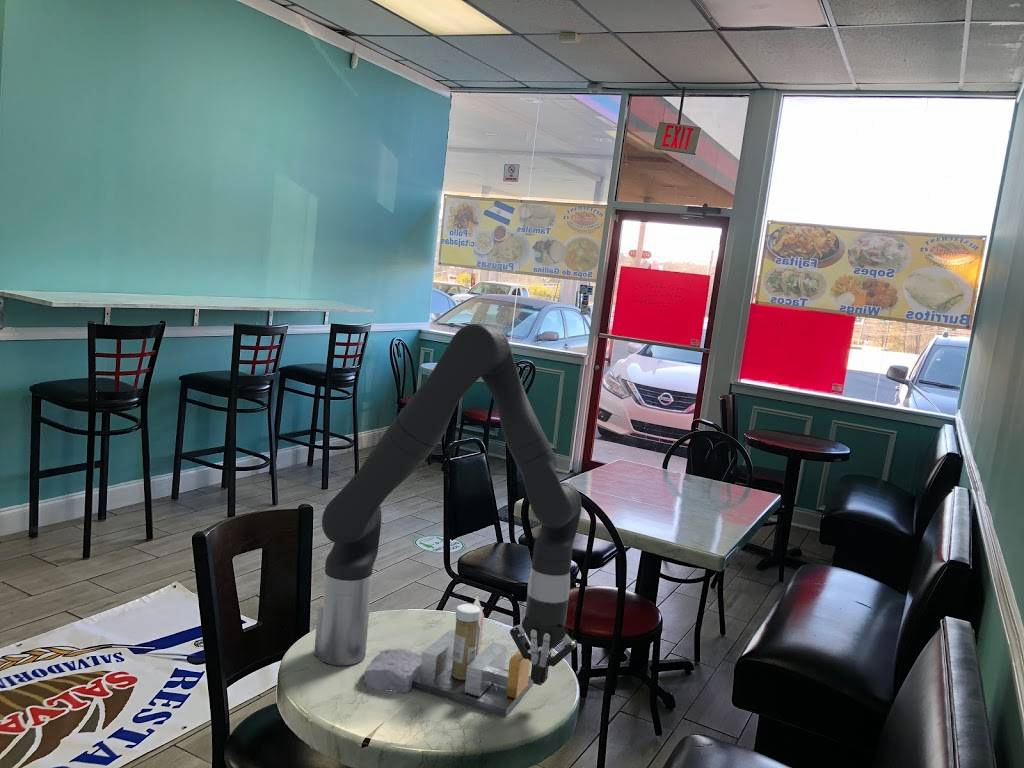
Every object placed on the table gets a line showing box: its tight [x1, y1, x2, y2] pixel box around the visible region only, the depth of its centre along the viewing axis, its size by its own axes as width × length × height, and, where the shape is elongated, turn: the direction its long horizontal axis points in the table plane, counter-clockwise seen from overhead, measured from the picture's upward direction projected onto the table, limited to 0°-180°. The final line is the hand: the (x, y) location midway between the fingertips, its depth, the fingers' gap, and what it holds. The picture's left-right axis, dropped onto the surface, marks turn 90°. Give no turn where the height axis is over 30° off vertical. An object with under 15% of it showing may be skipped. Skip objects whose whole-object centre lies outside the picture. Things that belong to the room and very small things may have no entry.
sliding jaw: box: [465, 641, 531, 698], centre depth 152 cm, size 9×12×7 cm
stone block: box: [363, 647, 422, 694], centre depth 155 cm, size 12×5×10 cm
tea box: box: [472, 596, 485, 656], centre depth 171 cm, size 4×7×10 cm, turn 175°
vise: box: [411, 629, 534, 718], centre depth 154 cm, size 19×14×7 cm
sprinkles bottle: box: [451, 603, 480, 680], centre depth 155 cm, size 5×5×13 cm
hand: (538, 682), depth 150 cm, fingers closed
